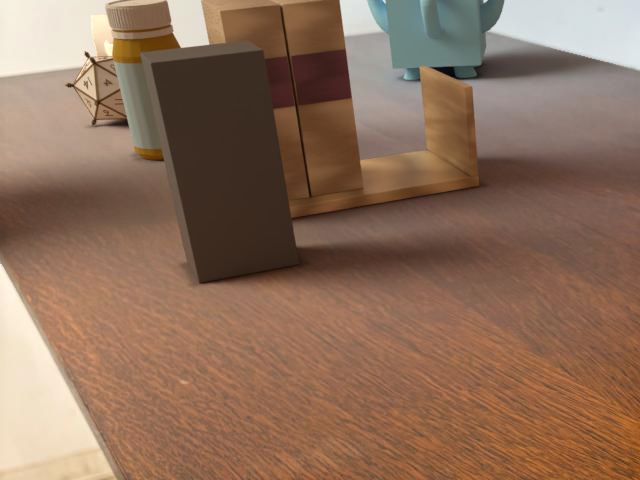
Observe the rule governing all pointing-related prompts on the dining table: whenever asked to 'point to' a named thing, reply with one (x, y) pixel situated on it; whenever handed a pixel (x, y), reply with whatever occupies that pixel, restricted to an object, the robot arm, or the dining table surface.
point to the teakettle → (436, 32)
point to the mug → (102, 35)
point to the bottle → (139, 63)
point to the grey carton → (222, 157)
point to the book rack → (342, 110)
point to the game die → (100, 89)
